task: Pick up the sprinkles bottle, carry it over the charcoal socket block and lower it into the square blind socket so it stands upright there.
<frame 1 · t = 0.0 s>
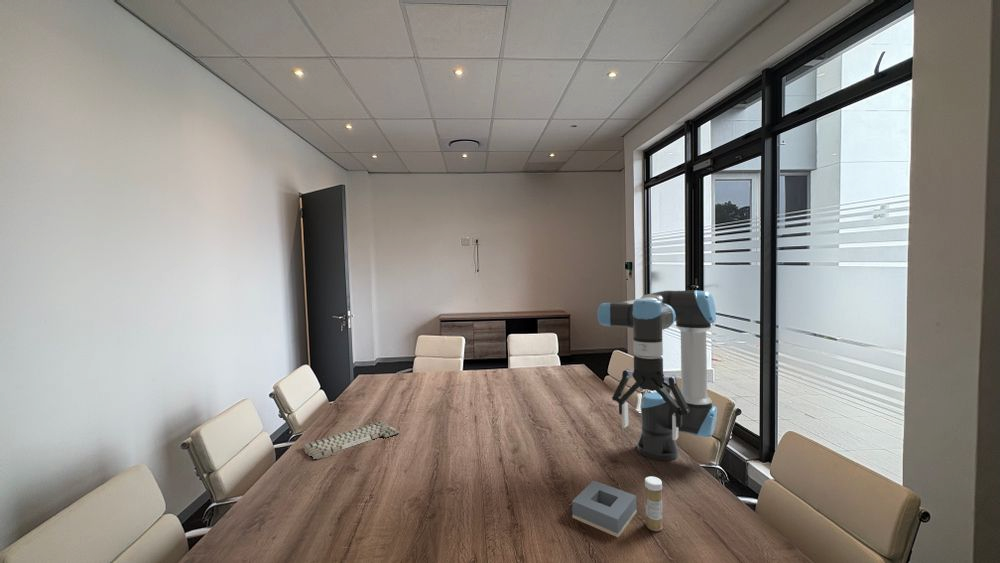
hand: (649, 432, 105), 28 cm above the table, fingers open, 13 cm apart
sprinkles bottle: (654, 527, 108), on the table
socket block: (604, 514, 113), on the table
mechanical keyboard: (353, 443, 169), on the table
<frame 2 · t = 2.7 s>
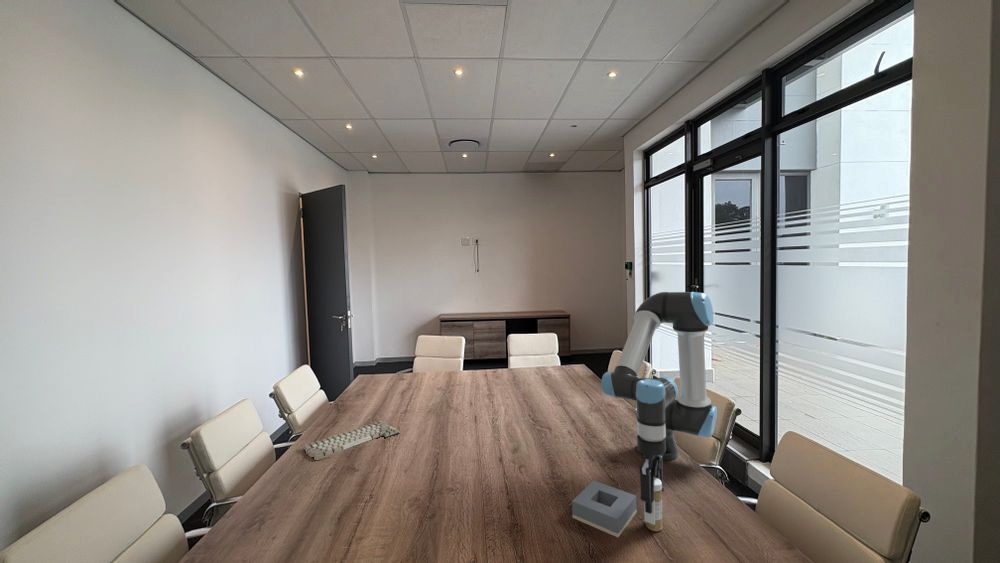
hand: (652, 517, 108), 3 cm above the table, fingers closed on sprinkles bottle, 4 cm apart
sprinkles bottle: (654, 527, 108), on the table, touching gripper
when the fingers open (6 cm above the table, at t = 7.2 s): sprinkles bottle drops 2 cm, resting on socket block.
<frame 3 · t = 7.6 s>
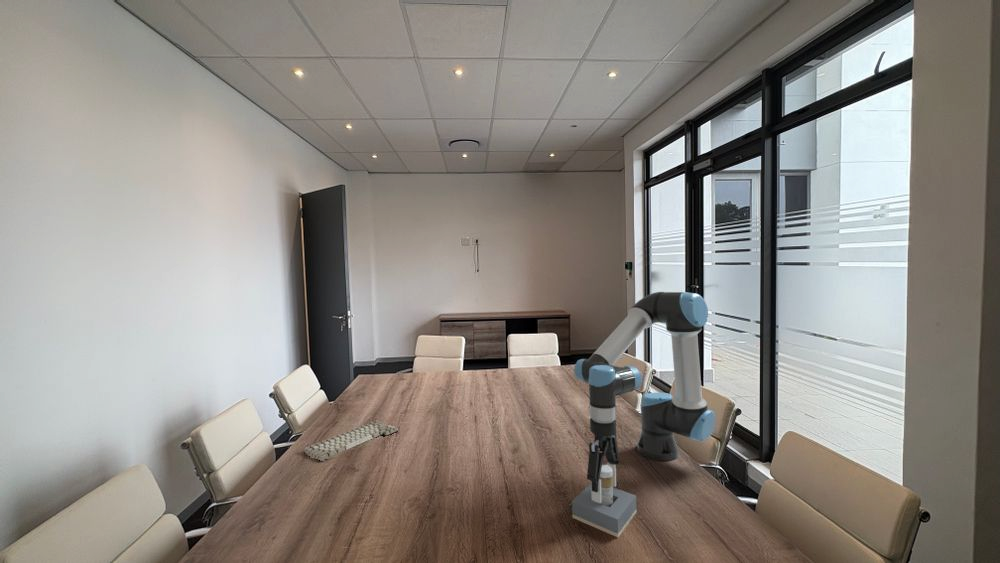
hand: (604, 492, 113), 7 cm above the table, fingers open, 10 cm apart
sprinkles bottle: (605, 512, 113), point 1 cm above the table, touching socket block
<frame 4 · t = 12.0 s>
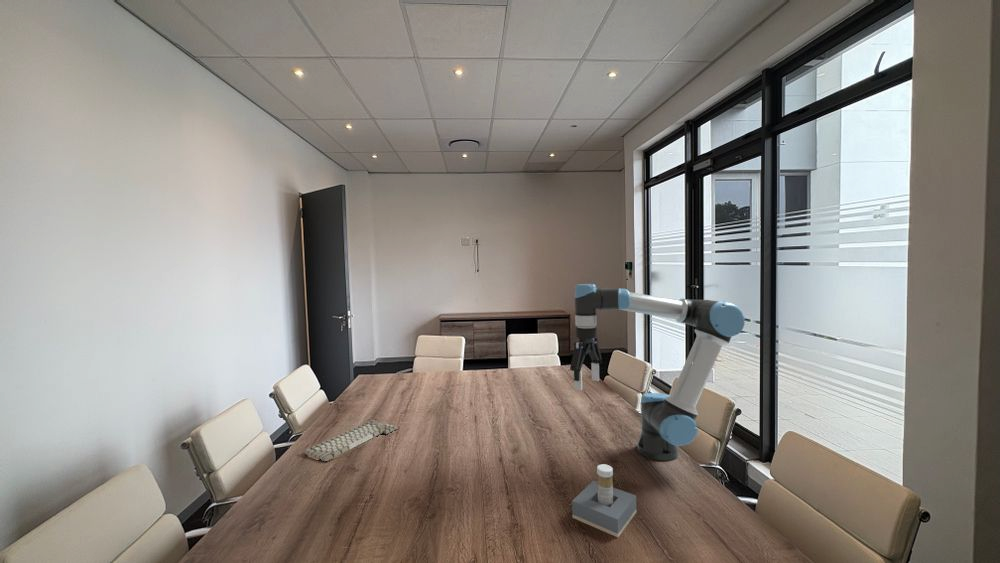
hand: (587, 385, 138), 32 cm above the table, fingers open, 13 cm apart
at the end: sprinkles bottle 0.3 cm off-centre on the socket block, point 0.8 cm above the socket block's base; sprinkles bottle tilted 0°; the gripper is holding nothing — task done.
